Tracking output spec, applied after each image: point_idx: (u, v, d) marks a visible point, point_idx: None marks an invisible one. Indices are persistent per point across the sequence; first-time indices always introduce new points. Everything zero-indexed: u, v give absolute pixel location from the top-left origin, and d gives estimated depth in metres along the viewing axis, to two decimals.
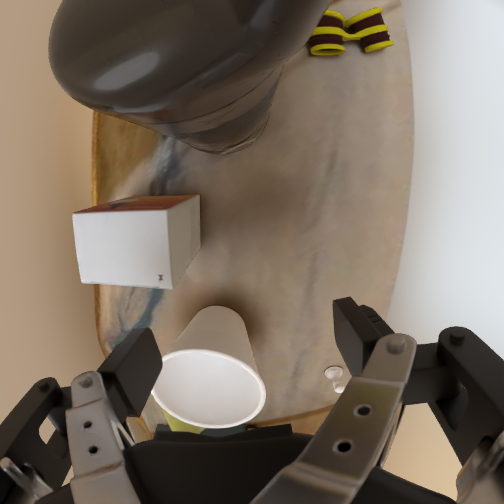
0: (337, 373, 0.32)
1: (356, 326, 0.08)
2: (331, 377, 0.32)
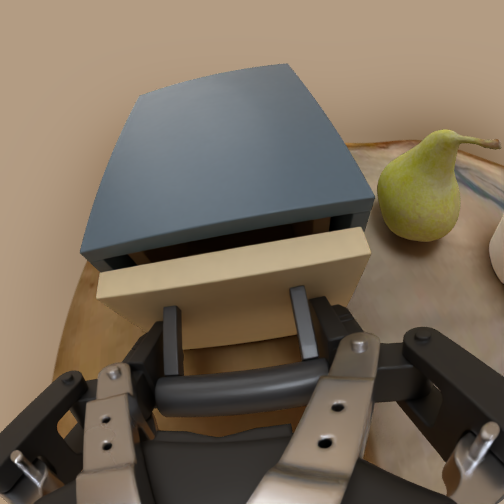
0: None
1: (325, 324, 0.09)
2: None
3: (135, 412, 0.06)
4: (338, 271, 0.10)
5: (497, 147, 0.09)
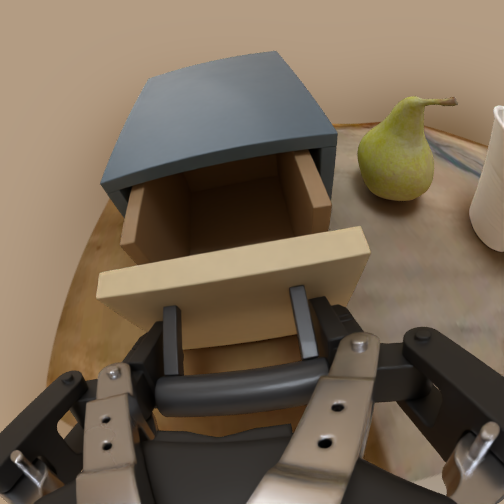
0: None
1: (324, 324, 0.09)
2: None
3: (135, 412, 0.06)
4: (338, 270, 0.10)
5: (453, 103, 0.11)
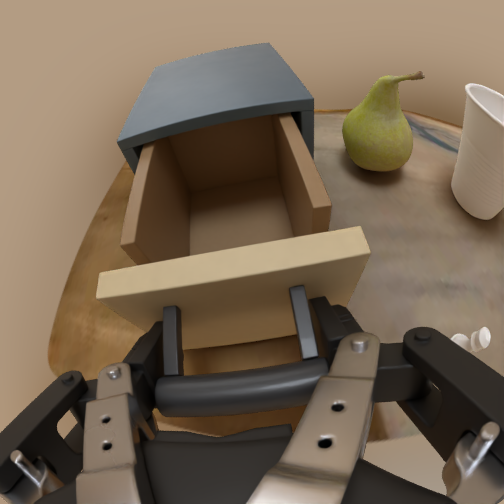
0: None
1: (325, 324, 0.09)
2: (466, 338, 0.13)
3: (135, 412, 0.06)
4: (338, 270, 0.10)
5: (420, 76, 0.13)
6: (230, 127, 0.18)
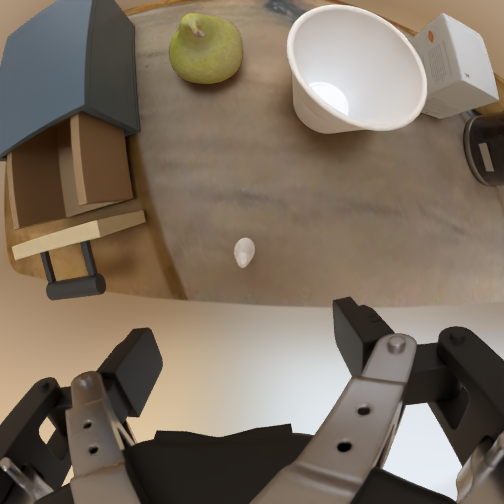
0: (249, 255, 0.25)
1: (356, 326, 0.08)
2: (245, 247, 0.25)
3: (113, 416, 0.05)
4: None
5: (199, 37, 0.12)
6: None
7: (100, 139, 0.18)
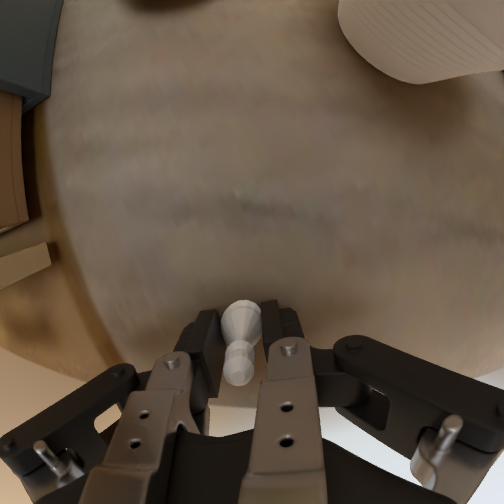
0: (254, 339, 0.11)
1: (265, 327, 0.09)
2: (244, 325, 0.11)
3: (180, 410, 0.06)
4: None
5: None
6: None
7: None
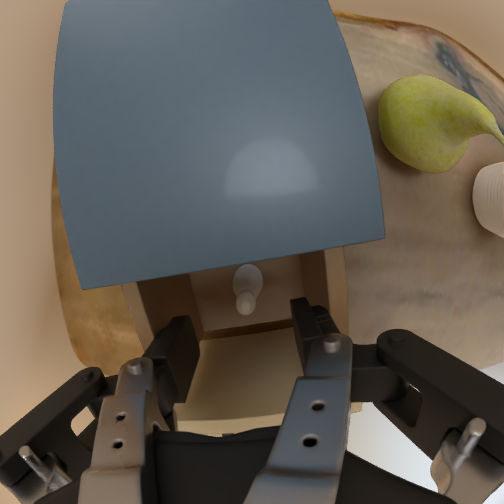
0: (256, 290, 0.17)
1: (301, 324, 0.09)
2: (249, 279, 0.17)
3: (153, 410, 0.06)
4: None
5: None
6: None
7: None
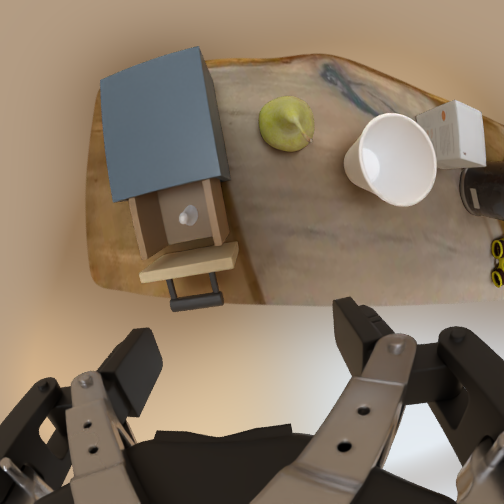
0: (192, 217, 0.33)
1: (356, 326, 0.08)
2: (188, 211, 0.33)
3: (113, 416, 0.05)
4: None
5: (309, 142, 0.23)
6: None
7: (216, 193, 0.29)
